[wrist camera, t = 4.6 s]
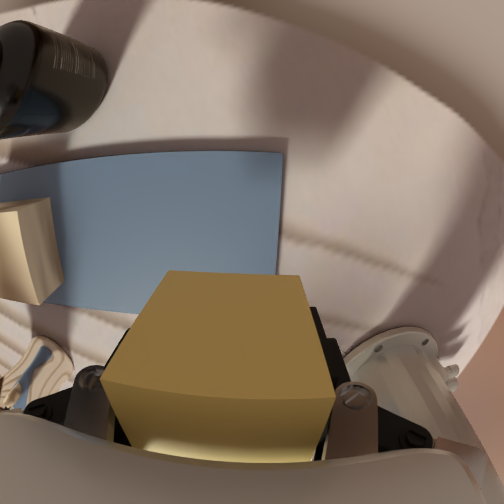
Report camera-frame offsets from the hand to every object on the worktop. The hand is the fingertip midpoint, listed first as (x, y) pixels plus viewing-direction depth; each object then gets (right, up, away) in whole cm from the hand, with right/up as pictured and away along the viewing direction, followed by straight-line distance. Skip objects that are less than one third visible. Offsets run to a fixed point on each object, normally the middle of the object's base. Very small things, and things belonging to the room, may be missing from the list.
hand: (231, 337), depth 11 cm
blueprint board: (-10, +4, +8) cm, 14 cm away
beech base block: (-18, +4, +7) cm, 20 cm away
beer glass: (-22, -8, +13) cm, 27 cm away
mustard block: (0, 0, +1) cm, 1 cm away
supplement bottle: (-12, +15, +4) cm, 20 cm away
